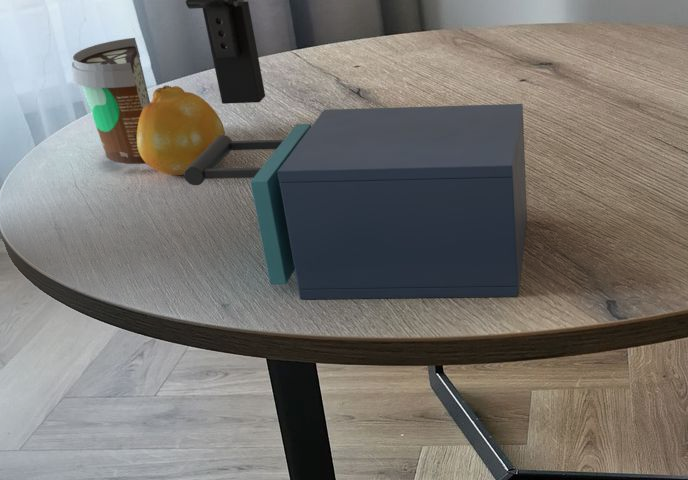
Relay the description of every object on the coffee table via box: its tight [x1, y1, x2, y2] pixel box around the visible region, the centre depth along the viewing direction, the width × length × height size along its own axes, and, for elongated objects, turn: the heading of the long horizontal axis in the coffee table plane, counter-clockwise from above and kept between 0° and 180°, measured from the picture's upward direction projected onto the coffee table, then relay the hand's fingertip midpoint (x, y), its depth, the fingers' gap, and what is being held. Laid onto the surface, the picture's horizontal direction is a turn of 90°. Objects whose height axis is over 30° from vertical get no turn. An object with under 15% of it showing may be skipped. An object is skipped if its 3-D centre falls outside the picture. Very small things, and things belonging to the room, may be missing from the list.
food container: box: [71, 37, 151, 164], centre depth 96 cm, size 12×6×10 cm, turn 16°
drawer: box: [183, 123, 312, 286], centre depth 71 cm, size 20×12×8 cm, turn 86°
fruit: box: [137, 85, 226, 176], centre depth 92 cm, size 8×8×8 cm
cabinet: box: [278, 103, 528, 300], centre depth 71 cm, size 16×14×10 cm
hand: (243, 99), depth 68 cm, fingers closed
